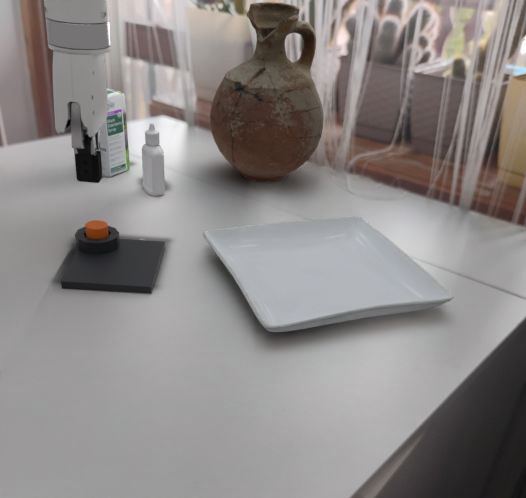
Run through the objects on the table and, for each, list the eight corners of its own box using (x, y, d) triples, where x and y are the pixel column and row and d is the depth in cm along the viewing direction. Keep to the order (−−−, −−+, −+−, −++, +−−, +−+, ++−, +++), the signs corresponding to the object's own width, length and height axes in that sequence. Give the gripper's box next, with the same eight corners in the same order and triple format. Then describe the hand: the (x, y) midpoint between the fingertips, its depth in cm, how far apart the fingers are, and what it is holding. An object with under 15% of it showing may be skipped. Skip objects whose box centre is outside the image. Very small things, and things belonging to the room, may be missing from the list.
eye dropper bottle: (139, 195, 112) (136, 127, 105) (144, 184, 117) (142, 118, 110) (163, 197, 112) (162, 129, 105) (168, 186, 117) (166, 120, 110)
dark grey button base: (57, 288, 84) (54, 268, 82) (83, 241, 96) (81, 223, 94) (151, 294, 84) (150, 274, 83) (165, 246, 96) (165, 228, 95)
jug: (187, 167, 126) (187, -3, 109) (266, 150, 138) (277, -5, 121) (259, 202, 113) (272, 17, 96) (339, 180, 126) (363, 12, 109)
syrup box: (110, 177, 118) (104, 97, 110) (86, 170, 121) (79, 91, 112) (130, 170, 122) (126, 92, 114) (107, 163, 125) (101, 86, 116)
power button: (83, 239, 91) (82, 228, 90) (88, 230, 93) (87, 219, 92) (106, 241, 91) (105, 229, 90) (110, 231, 93) (109, 220, 92)
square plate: (199, 251, 96) (200, 227, 94) (357, 234, 105) (361, 212, 103) (263, 350, 76) (265, 323, 73) (451, 318, 85) (459, 294, 82)
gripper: (64, 22, 83) (75, 159, 93) (29, 43, 71) (47, 198, 81) (121, 28, 83) (126, 164, 94) (96, 50, 71) (105, 203, 82)
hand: (89, 179), depth 87 cm, fingers closed
